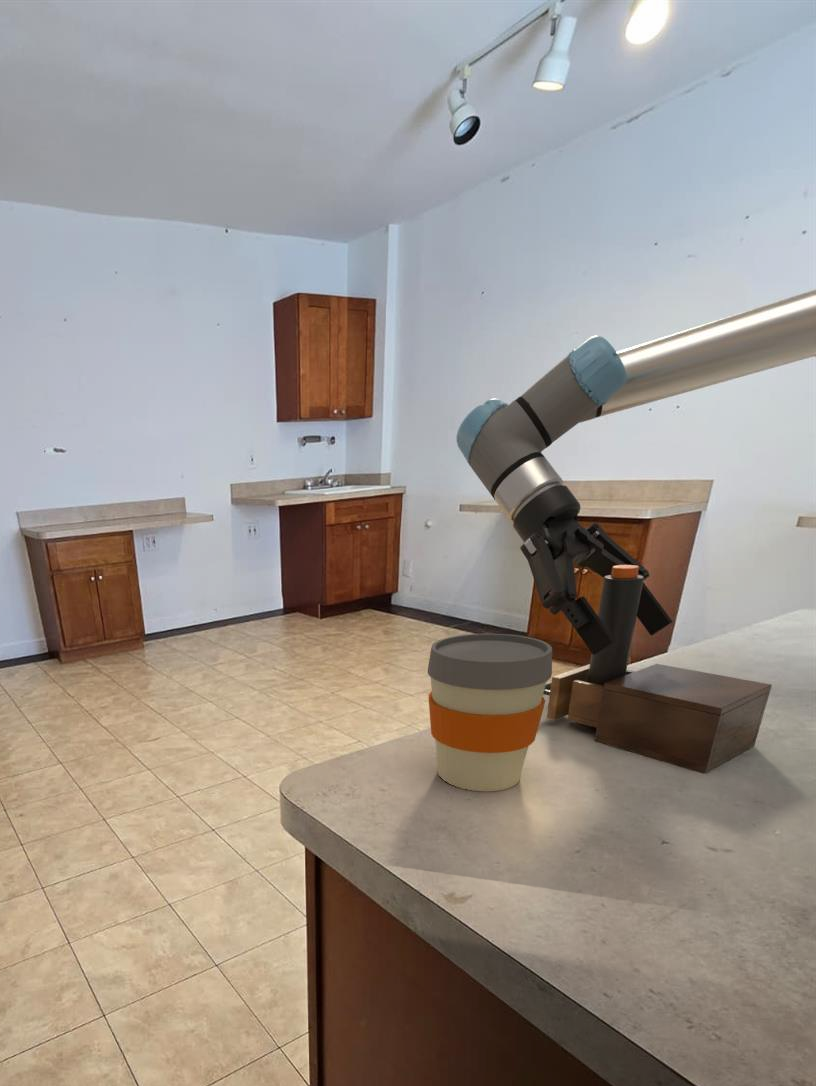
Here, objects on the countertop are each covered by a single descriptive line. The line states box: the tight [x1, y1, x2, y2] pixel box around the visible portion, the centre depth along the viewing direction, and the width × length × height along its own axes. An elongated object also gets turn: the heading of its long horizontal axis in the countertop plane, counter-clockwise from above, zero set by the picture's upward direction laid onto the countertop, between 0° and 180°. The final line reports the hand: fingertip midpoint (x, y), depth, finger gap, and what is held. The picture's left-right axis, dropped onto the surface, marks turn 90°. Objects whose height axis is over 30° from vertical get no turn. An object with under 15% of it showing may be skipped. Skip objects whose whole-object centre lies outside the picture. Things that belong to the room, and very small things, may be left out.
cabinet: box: [594, 663, 773, 774], centre depth 76 cm, size 13×12×8 cm
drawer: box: [543, 663, 637, 729], centre depth 84 cm, size 15×10×6 cm
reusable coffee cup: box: [426, 633, 553, 792], centre depth 71 cm, size 13×13×15 cm
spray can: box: [587, 565, 645, 686], centre depth 80 cm, size 5×5×18 cm
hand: (634, 638), depth 78 cm, fingers open, 12 cm apart
